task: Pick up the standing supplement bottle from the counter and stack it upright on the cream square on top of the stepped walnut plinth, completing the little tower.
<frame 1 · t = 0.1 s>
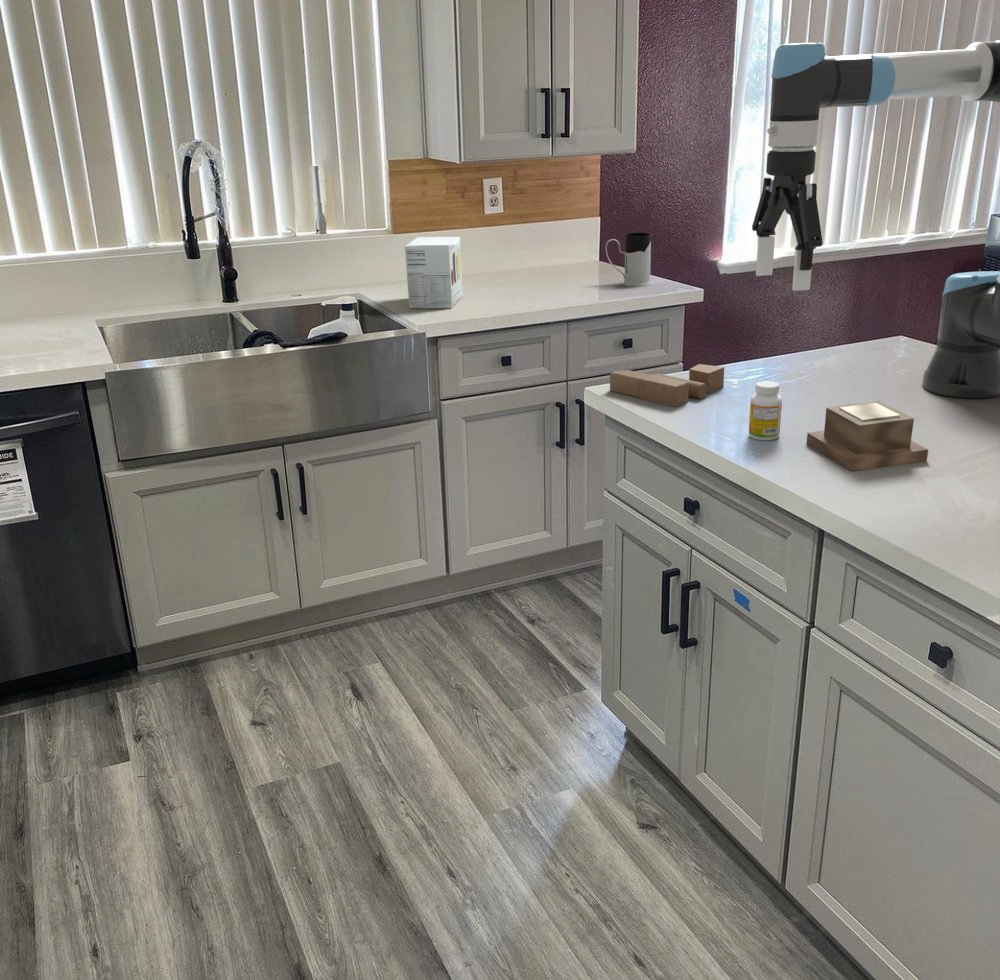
hand: (781, 282, 167), 28 cm above the counter, tool pointing down, fingers open, 13 cm apart
supplement box: (437, 303, 295), on the counter
supplement bottle: (763, 437, 179), on the counter
wooden block set: (667, 392, 207), on the counter
glass holder: (628, 284, 309), on the counter
plinth: (864, 451, 169), on the counter
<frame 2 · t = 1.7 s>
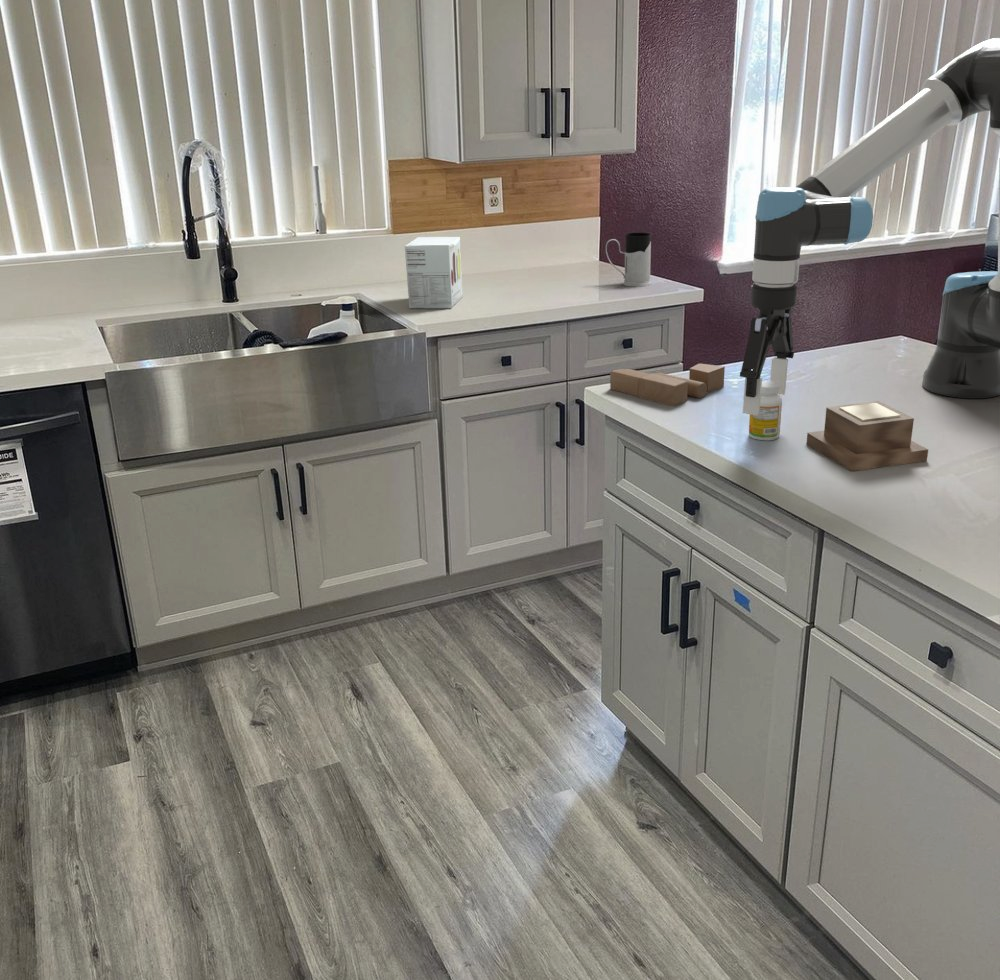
hand: (764, 403, 176), 6 cm above the counter, tool pointing down, fingers open, 13 cm apart
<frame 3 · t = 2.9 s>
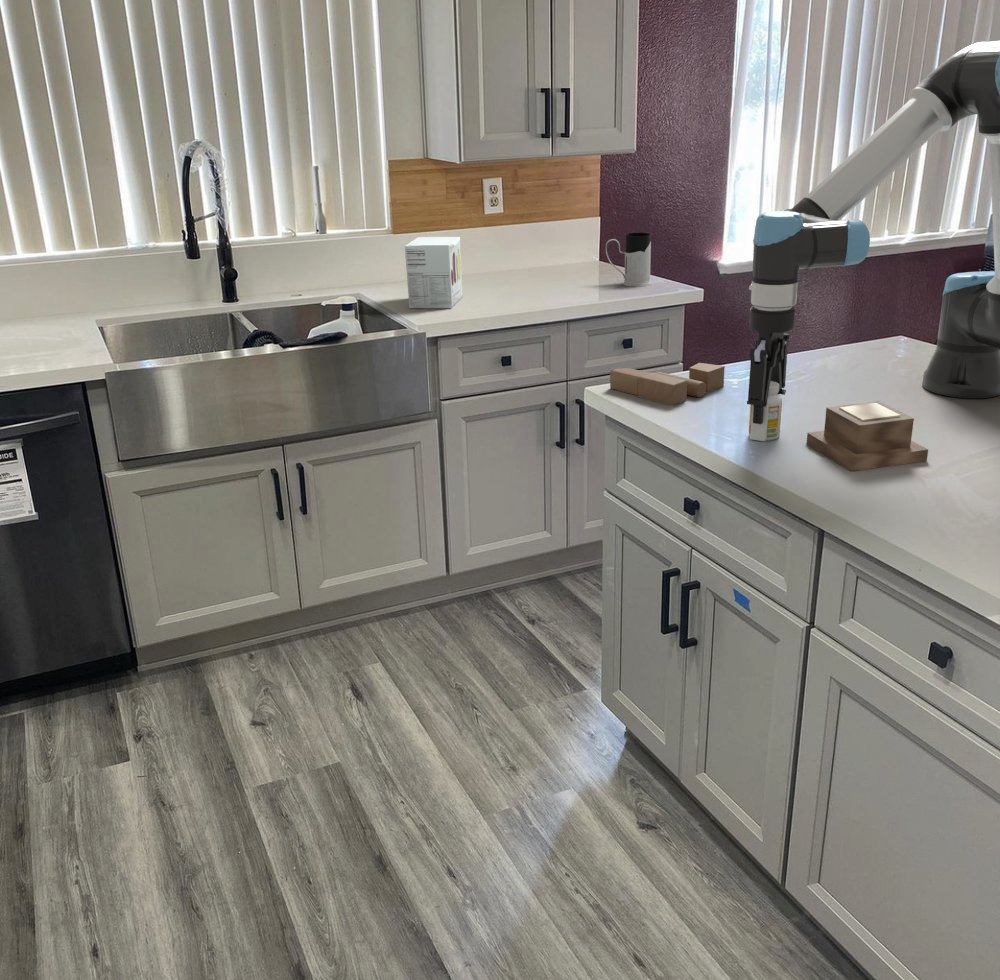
hand: (764, 434, 179), 0 cm above the counter, tool pointing down, fingers closed on supplement bottle, 5 cm apart
supplement bottle: (763, 436, 179), on the counter, touching gripper
everything else where it was.
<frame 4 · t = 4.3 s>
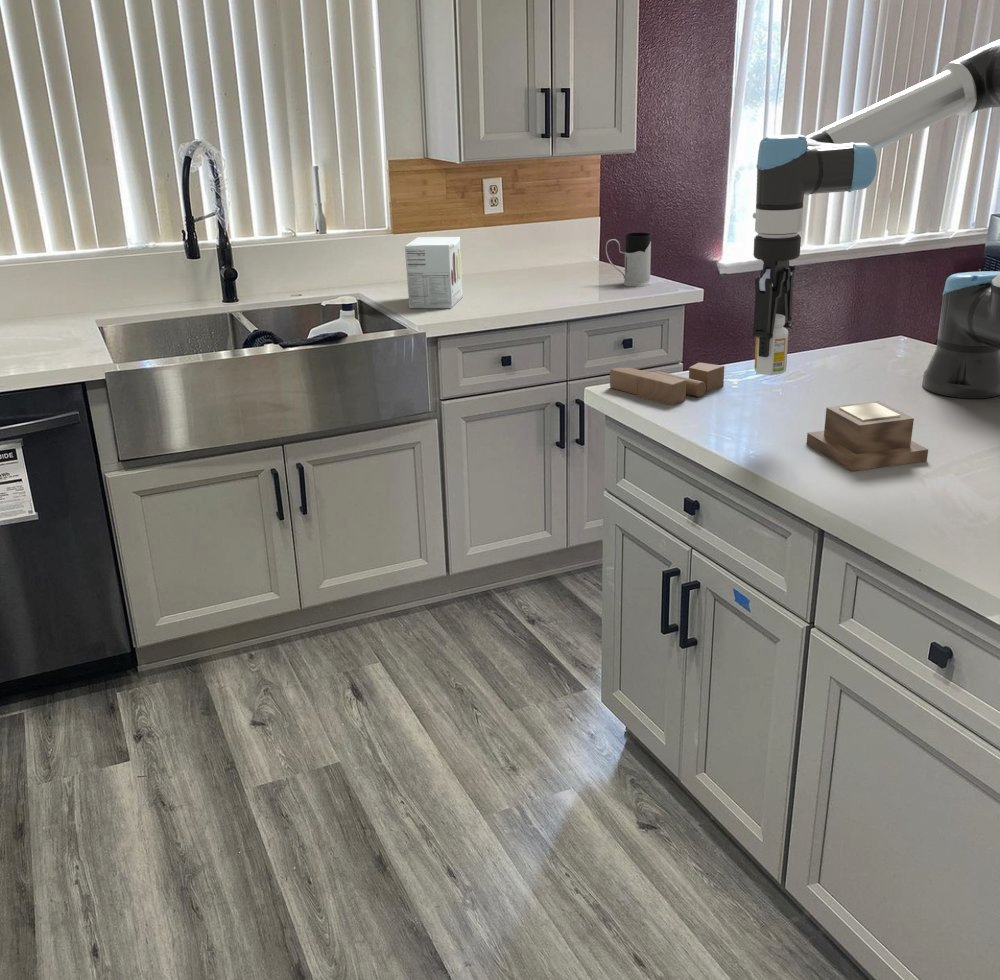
hand: (770, 369, 174), 12 cm above the counter, tool pointing down, fingers closed on supplement bottle, 5 cm apart
supplement bottle: (770, 372, 174), point 12 cm above the counter, touching gripper
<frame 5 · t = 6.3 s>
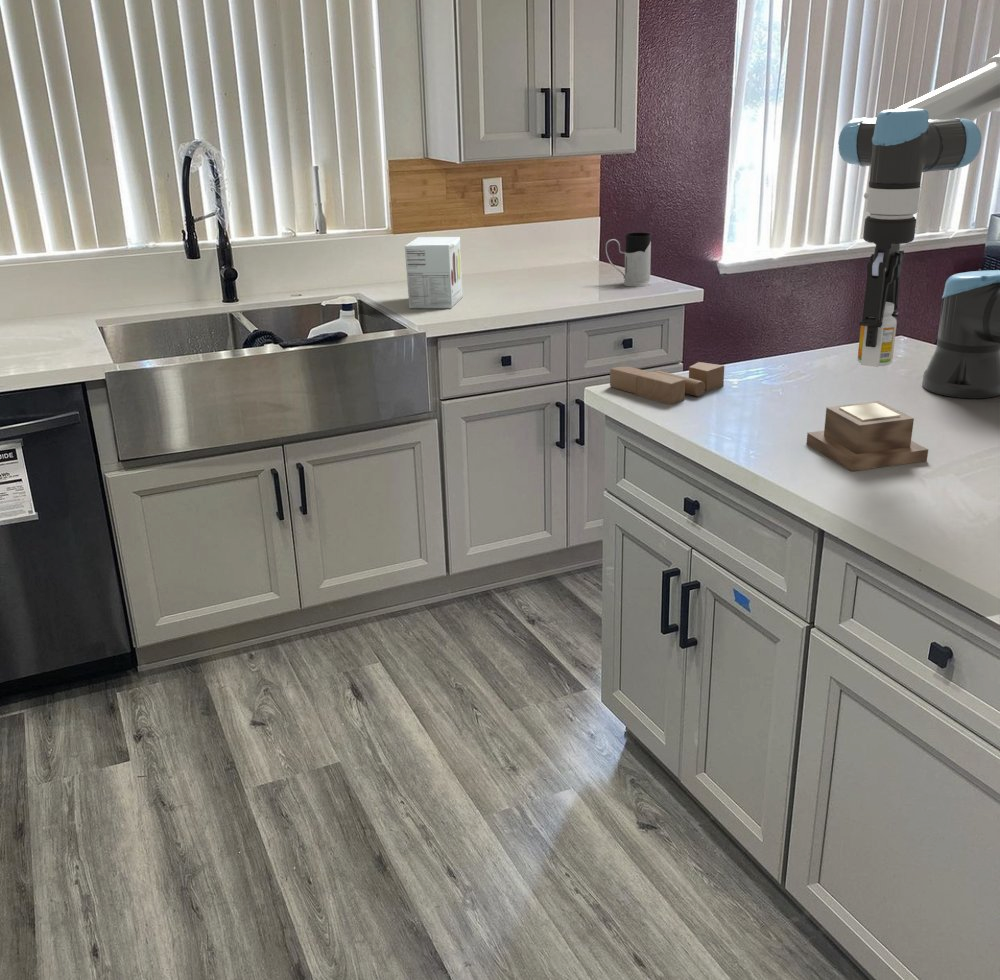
hand: (874, 360, 163), 16 cm above the counter, tool pointing down, fingers closed on supplement bottle, 5 cm apart
supplement bottle: (874, 363, 163), point 16 cm above the counter, touching gripper
when the fingers open (9 cm above the counter, at t = 7.7 s): supplement bottle drops 1 cm, resting on plinth.
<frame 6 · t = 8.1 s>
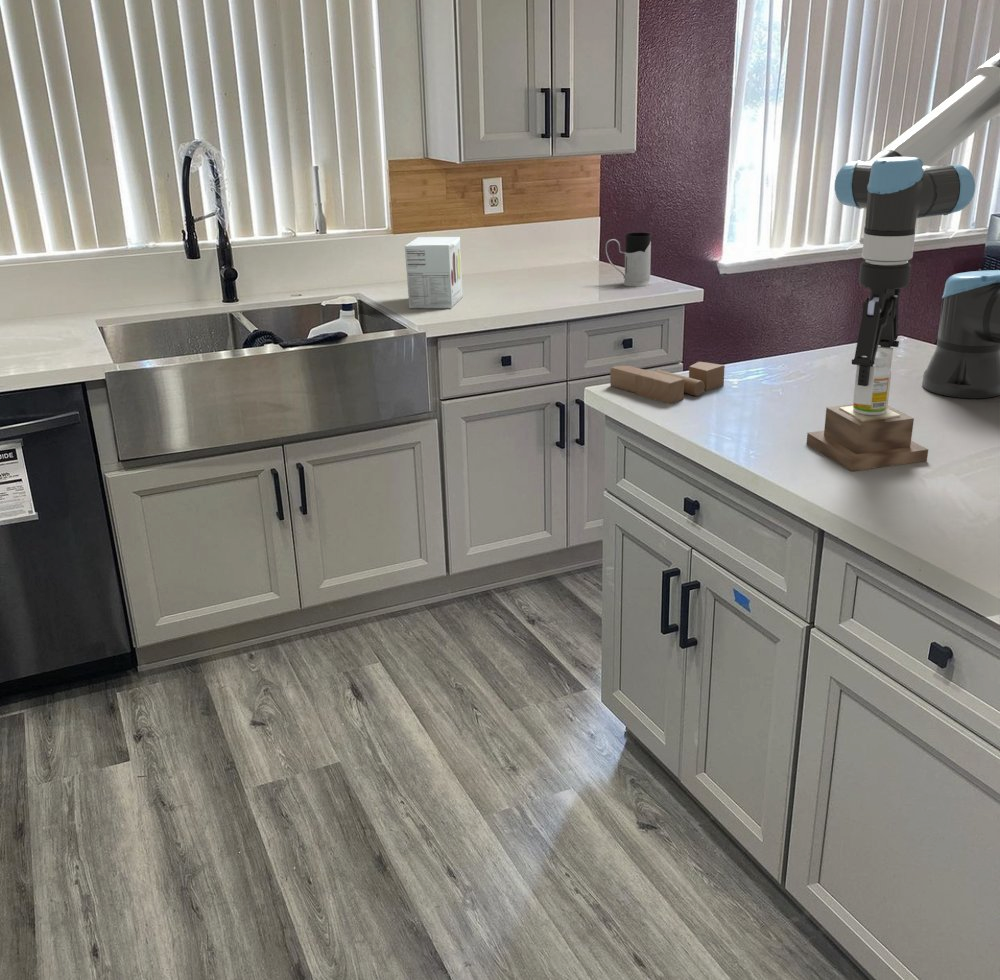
hand: (871, 394, 165), 10 cm above the counter, tool pointing down, fingers open, 11 cm apart
supplement bottle: (869, 412, 167), point 7 cm above the counter, touching plinth
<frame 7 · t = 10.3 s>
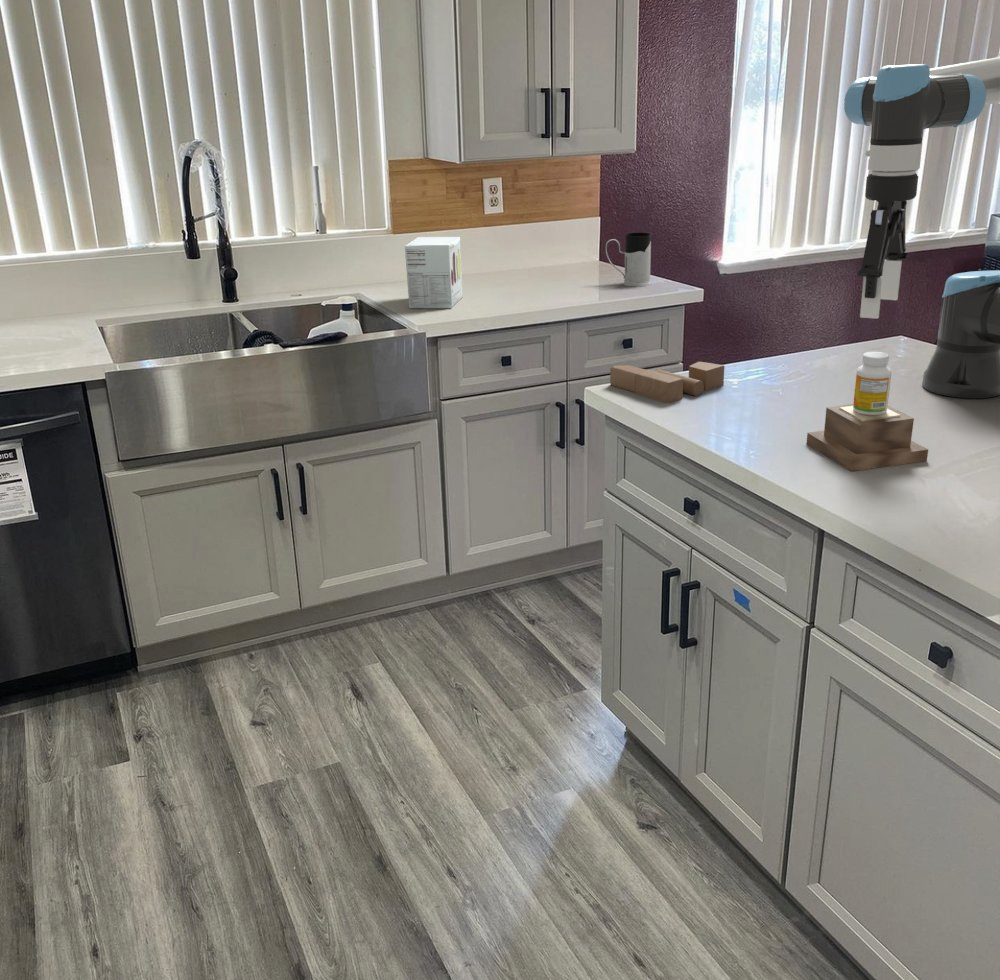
hand: (879, 308, 162), 24 cm above the counter, tool pointing down, fingers open, 13 cm apart
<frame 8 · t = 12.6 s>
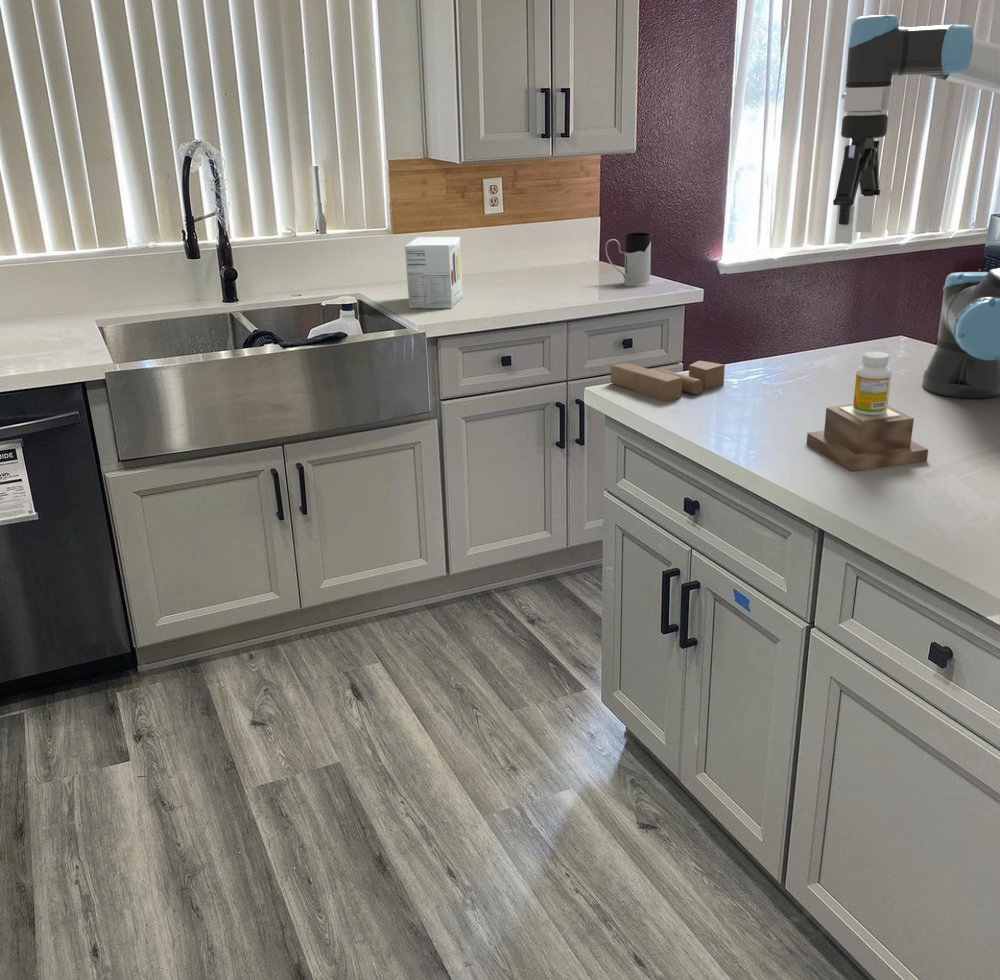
hand: (853, 237, 182), 32 cm above the counter, tool pointing down, fingers open, 13 cm apart
at the end: supplement bottle 0.1 cm off-centre on the plinth, point 7.1 cm above the plinth's base; supplement bottle tilted 0°; the gripper is holding nothing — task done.
